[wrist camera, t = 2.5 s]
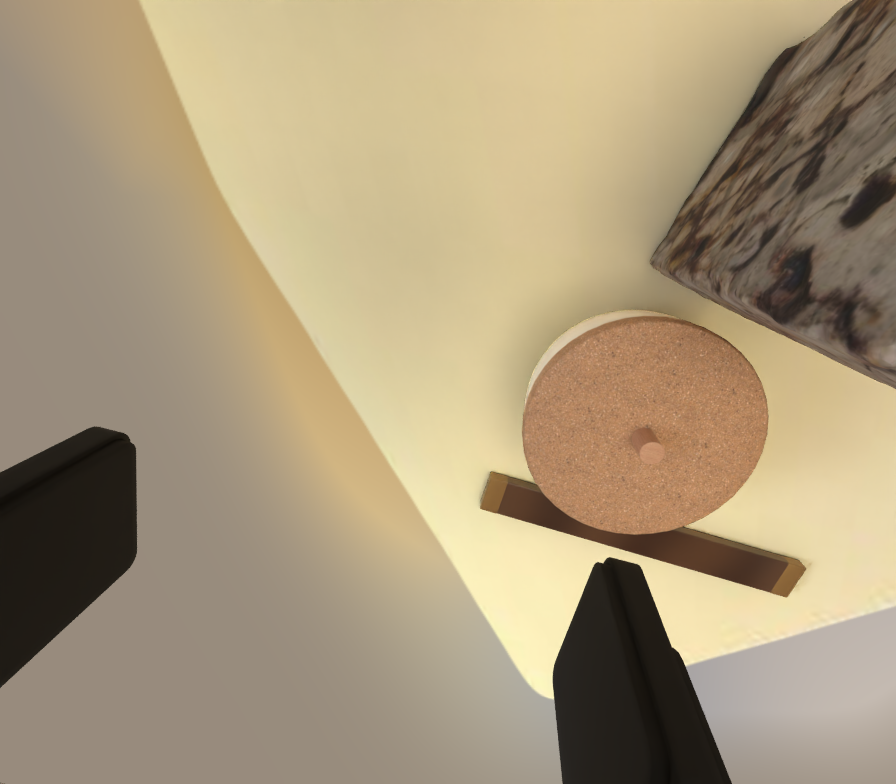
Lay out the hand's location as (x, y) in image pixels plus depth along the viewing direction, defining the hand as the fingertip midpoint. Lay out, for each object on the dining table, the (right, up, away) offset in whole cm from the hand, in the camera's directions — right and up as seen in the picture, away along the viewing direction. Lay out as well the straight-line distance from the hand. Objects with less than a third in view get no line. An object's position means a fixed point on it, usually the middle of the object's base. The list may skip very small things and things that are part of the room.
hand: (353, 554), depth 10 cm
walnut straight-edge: (+15, -6, +23) cm, 28 cm away
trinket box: (+12, +4, +20) cm, 23 cm away
